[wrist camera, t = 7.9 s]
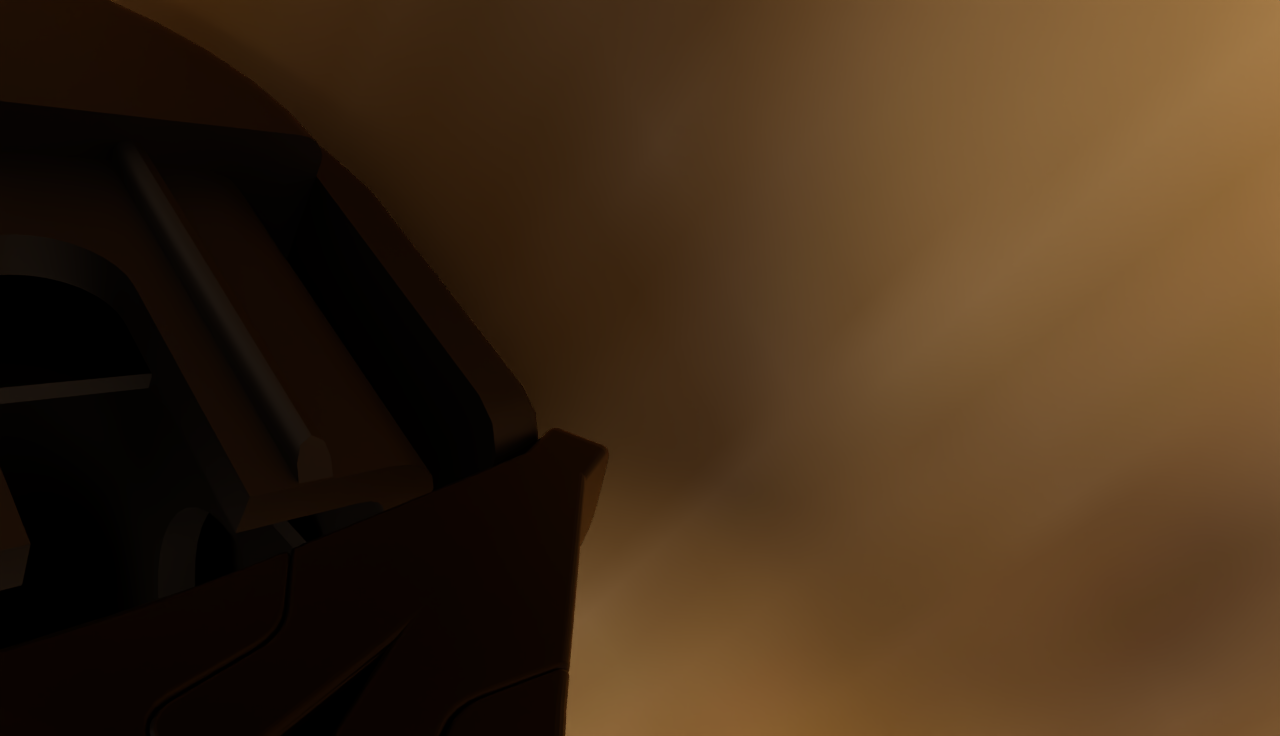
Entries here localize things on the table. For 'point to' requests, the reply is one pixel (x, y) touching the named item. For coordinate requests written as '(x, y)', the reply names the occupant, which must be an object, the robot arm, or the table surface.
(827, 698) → the table surface
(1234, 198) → the table surface
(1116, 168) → the table surface
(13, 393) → the end cap
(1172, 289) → the table surface
